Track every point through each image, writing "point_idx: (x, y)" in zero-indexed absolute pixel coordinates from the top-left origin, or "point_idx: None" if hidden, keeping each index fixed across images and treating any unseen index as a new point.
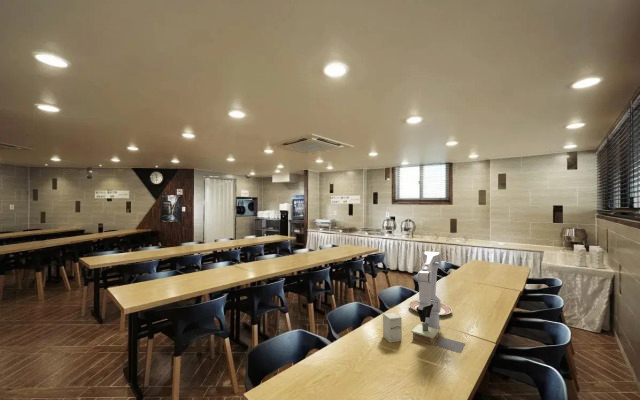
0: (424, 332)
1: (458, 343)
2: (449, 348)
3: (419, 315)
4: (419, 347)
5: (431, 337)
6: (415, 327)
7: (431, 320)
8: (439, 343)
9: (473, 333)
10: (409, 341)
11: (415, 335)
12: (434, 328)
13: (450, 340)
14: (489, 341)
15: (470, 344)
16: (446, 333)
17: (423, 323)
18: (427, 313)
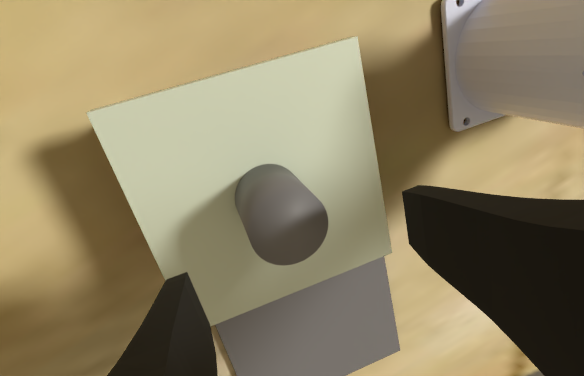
0: (202, 230)
1: (368, 333)
2: (253, 356)
3: (119, 367)
4: (53, 239)
5: None
6: (230, 77)
7: (526, 92)
8: None
9: None
10: (56, 104)
11: None
12: (377, 219)
13: (372, 285)
14: (514, 367)
15: (415, 355)
16: None
17: (266, 217)
18: (453, 249)
